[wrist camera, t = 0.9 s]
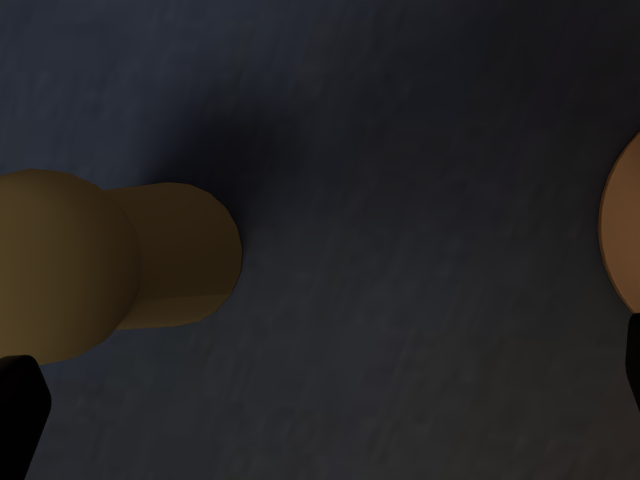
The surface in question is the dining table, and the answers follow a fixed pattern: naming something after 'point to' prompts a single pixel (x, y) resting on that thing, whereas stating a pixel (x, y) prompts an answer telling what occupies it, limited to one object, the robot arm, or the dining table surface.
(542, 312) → the dining table surface
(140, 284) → the pepper shaker
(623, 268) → the cork coaster
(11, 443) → the robot arm
